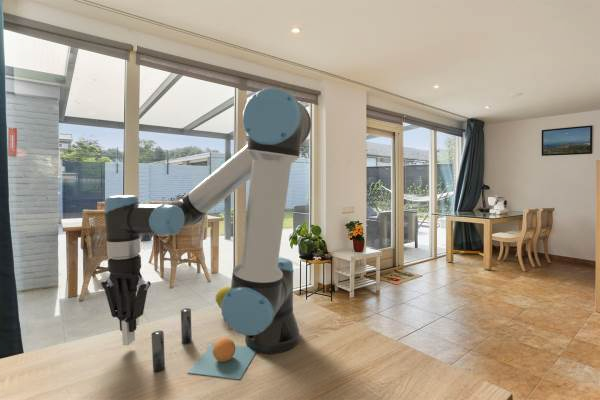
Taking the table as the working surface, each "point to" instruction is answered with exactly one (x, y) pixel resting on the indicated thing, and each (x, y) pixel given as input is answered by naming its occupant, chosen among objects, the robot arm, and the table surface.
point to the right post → (186, 326)
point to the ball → (224, 349)
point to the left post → (158, 351)
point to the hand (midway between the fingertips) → (129, 342)
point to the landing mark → (223, 364)
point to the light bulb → (221, 295)
